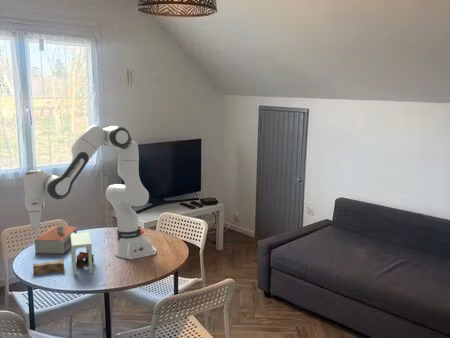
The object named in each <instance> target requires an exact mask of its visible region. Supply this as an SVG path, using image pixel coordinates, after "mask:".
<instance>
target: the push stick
mask: <svg viewBox="0 0 450 338" xmlns="http://www.w3.org/2000/svg"><path fill="white" fill-rule="evenodd" d="M32 268H33V276H34V275H35V276H36V275H43V274H50V273H58V272H59V271H60V273H65V262H64V259H63V258H62V259H60V260H56V261H46V262H39V263H33V264H32Z"/></svg>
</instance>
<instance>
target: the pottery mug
mask: <svg viewBox="0 0 450 338" xmlns="http://www.w3.org/2000/svg"><path fill="white" fill-rule="evenodd" d="M93 263H95V259H94V254H93V253H92V264H93ZM85 267H86V268H89V255H88V253H86V252H83V251H80V252H79V254H77V255H76V269H80V270H81V269H82V270H83V269H84V268H85Z"/></svg>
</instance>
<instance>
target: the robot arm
mask: <svg viewBox="0 0 450 338" xmlns="http://www.w3.org/2000/svg"><path fill="white" fill-rule="evenodd" d="M102 145H104V146H107V147H111V148H116V149H117V154H118V155H117V174H118V176H119V177H120V178H121V179H122V181H123V182H124V183H123V184H122V183H114V184H110V185H108V187H107V188H106V190H105V198H106V200H107V201H108V202H109V203H110V205H112V207H113V209H114V212H115V216H116V223H117V229H116V240H117V242H116V244H117V245H116V250H115V254H114V255H115V256H116V257H118V258H122V259H127V260H135V259H139V258H143V257H144V258H145V257H149V256H154V255H156V254H157V249H156V248H155V246H153V244H152V241H151V239H150V238H148V237H147V236H145V235H144V232H145V231H144V230H143V229H141V228H140V227H139V216H138V213H137V212H136V211H134V210H133V208H132V207H144V206H145V205H146V204H147V203H148V202H149V198H150V193H149V191H148V189H146V188H145V186H144V185H143V183H142V181H141V178H140V173H139V171H140V169H139V167H140V165H139V164H140V163H139V161H140V156H139V155H140V154H139V146H138V143H137V141H135V140H134V139H132V138H131V135H130V132H129V130H127V128H125V127H123V126H119V125H109V126H105V127H103V128H102V127H101V126H99V125H95V124H93V125H91V126H89V127H88V128H86V129H85V131H83V132H82V133H81V134H80V135H79V136H78V138H77V139H76V140H75V141H74V143H73V145H72V146H71V150H70V151H71V155H72V160H71V161H70V163H69V165H68V166H67V167H66V169H65V170H64V172H63V173H62V174H61V175H60V176H59V175H56V174H51V173H49V172H46V171H44V170H42V169H40V168H39V169H36V168H35V169H31V170H28V171H27V172H25V174H24V178H23V180H24V181H23V188H24V193H25V196H24V203H25V204H24V207H25V209H26V211H27V212H28V217H29V222H30V227H31V228H33V233H34V235H38V234H39V228H40V226H41V216H42V211H43V209H44V208H45V207H46V197H45V196H46V195H49V196H50V197H51V198H53V199H55V200H63V199H65V198H66V197H68V196H69V195H70V192H71V190H72V187H73V184H74V183H75V181H76V180H77V178H78V177H79V175H80V174H81V172H82V171H83V170H84V169H85V167H86V166H87V164H88V163H89V161H90V160H91V158H92V157H93V156H95V154H96V152H97V151H98V150H99V148H100V147H102Z"/></svg>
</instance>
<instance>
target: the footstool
mask: <svg viewBox="0 0 450 338" xmlns="http://www.w3.org/2000/svg"><path fill="white" fill-rule="evenodd" d="M70 235H71V248H70V251H71V253H70V254H71V263H72V274H73V276H74V277H76V276H77V267H76V261H77V257H76V256H77V255H76V252H77V251H76V249H81V248H85V251H86V252H85V253H88V255H89V267H88V274H93V273H94V272H93V263H92V254H93V251H92V250H93V249H92V240H91V237H90V232H89V231H86V232H85V231H83V232H77V233H74V232H73V233H72V234H70Z"/></svg>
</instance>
